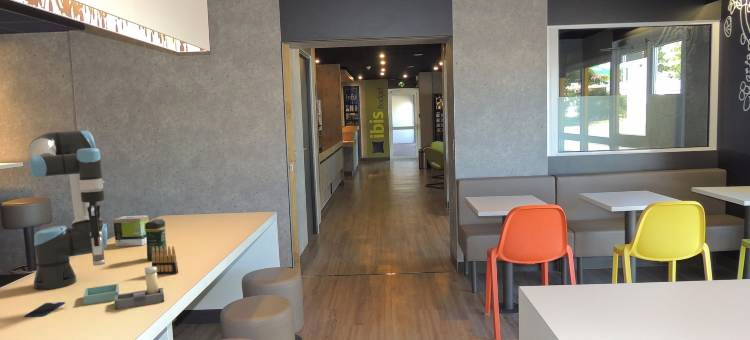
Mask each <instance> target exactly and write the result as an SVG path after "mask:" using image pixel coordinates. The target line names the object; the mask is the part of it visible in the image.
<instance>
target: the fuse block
mask: <svg viewBox="0 0 750 340" xmlns="http://www.w3.org/2000/svg"><path fill="white" fill-rule="evenodd" d="M158 292H159V293H157V294H151V295H147V289H144V290H138V291H132V292H126V293H125V292H124V293H119V294H117V295H115V300H114V307H115V308H114V310H121V309H122V310H123V309H127V308H134V307H139V306H140V307H141V306H147V305H152V304H158V303H164V302H165V297H164V296H165V295H164V288H163V287H158Z"/></svg>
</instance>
